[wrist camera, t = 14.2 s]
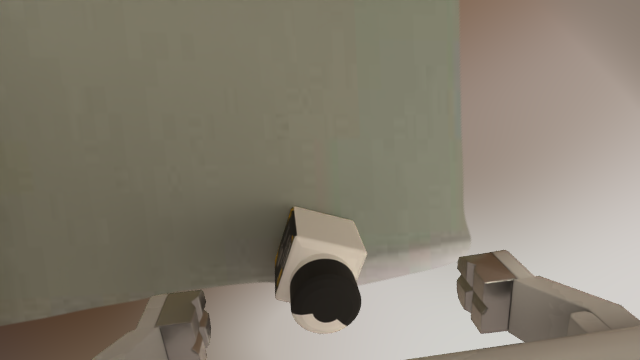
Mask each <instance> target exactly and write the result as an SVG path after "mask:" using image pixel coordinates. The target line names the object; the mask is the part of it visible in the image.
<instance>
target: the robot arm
mask: <svg viewBox="0 0 640 360" xmlns="http://www.w3.org/2000/svg"><path fill="white" fill-rule="evenodd" d="M457 269H458V270H459V271H460V273H461V276H460V277H459V278H458V280H457V293H458V298H459V300H460V303H461V305H462V306H463V308H464V309H465V310H467V311H468V312H470V313H471V320H472V321H473V323H474V324H475V326H476V327H477V329H478V330H479V332H480V333H481V334H483V333H492V332H501V331H508V332H509V333H511V334H513V335H514V336H516V337H517V338H519V339H520V340H522V341H524V343H518V344H511V345H504V346H497V347H490V348H483V349H477V350H469V351H462V352H456V353H449V354H442V355H435V356H428V357H422V358H414V359H407V360H640V320H638V319H637V318H635V316H633V315H632V314H631V313H630V312H628V311H627V310H626V309H625V308H623V307H622V306H621V305H619V304H616V303H613V302H610V301H608V300H605V299H602V298H599V297H596V296H594V295H590V294H588V293H585V292H583V291H580V290H577V289H574V288H571V287H569V286H566V285H563V284H560V283H557V282H554V281H551V280H549V279H546V278H543V277H541V276H536V277H535V276H534V275H532V274H531V273H530V272H529V271H528V270H527V269H526V268H525V267H524V266H523V265H522V264H521V263H520V262H519V261H518V260H517V259H516V258H514V256H512V255H511V254H510V253H509V252H508V251H506V250H501V251H495V252H490V253H483V254H477V255H470V256H463V257H459V259H458V267H457ZM205 303H206V300H205V296H204V293H203V291H202V290H197V291H187V292H178V293H170V294H161V295H154V296H152V297H150V299H149V301H148V303H147V306H146V308H145V310H144V312H143V314H142V316H141V318H140V320H139V323H138V325H137V327H136V329H135V330H134V331H129V332H128V333H126V334H125V335H124V336H122V337H121V338H120V339H118V340H117V341H116V342H114V343H113V344H112V345H110V346H109V347H108V348H106V349H105V350H103V351H102V352H101V353H99V354H98V355H97V356H95V357H94V358H93V359H91V360H206V358H207V354H206V350H205V348H206V347H207V346H208V345H209V343H210V338H211V325H210V318H209V313H207V312H206V311H205V310H204V308H205Z"/></svg>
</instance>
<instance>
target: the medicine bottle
mask: <svg viewBox="0 0 640 360" xmlns="http://www.w3.org/2000/svg"><path fill="white" fill-rule="evenodd" d="M366 256H367V252H366V250H365V247H364V245H363V243H362V240H361V238H360V235H359V233H358V230H357V228H356V226H355V223H354V221H352V220H348V219H344V218H340V217H336V216H332V215H328V214H324V213H320V212H316V211H312V210H308V209H304V208H300V207H296V206H294V207H292V209H291V212H290V215H289V218H288V221H287V224H286V227H285V230H284V234H283V237H282V240H281V243H280V246H279V249H278V252H277V256H276V259H275V298H276V299H277V300H280V301H285V302H290V303H291V312H292V315H293V317H294V319H295V321H296V322H297V323H298V324H299V325H300V326H301V327H303V328H304V329H306V330H308V331H311V332H314V333H320V334H327V333H333V332H336V331H339V330H341V329H343V328H345V327H346V326H348V325H349V324H350V323H351V322H352V321H353V320H354V319H355V318H356V316H357V315H358V313H359V310H360V307H361V296H360V293H359V290H358V286H357V283H356V281H357V278H358V276H359V273H360V271H361V268H362V266H363V263H364V261H365V258H366Z"/></svg>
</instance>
